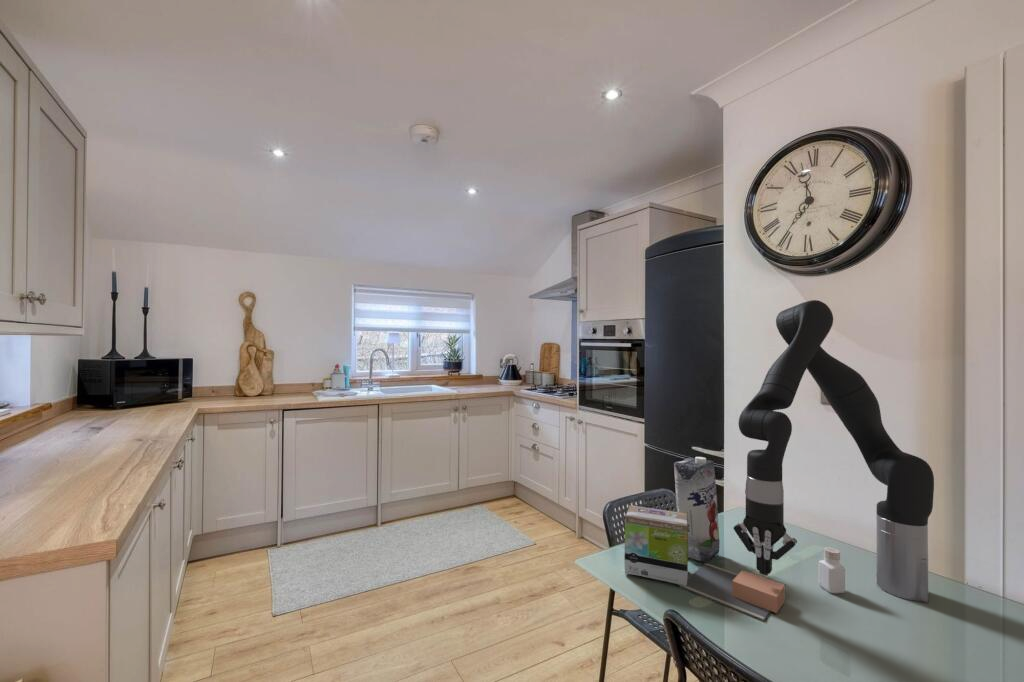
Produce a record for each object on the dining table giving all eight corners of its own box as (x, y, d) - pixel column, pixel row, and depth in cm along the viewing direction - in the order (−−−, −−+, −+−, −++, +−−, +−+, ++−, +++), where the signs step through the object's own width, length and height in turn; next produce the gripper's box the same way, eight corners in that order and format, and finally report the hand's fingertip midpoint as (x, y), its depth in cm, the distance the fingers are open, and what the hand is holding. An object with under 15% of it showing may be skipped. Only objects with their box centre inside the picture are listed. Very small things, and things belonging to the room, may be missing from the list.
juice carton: (675, 555, 119) (669, 457, 121) (692, 544, 126) (686, 452, 128) (707, 565, 113) (700, 461, 115) (723, 553, 120) (717, 455, 122)
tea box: (623, 575, 108) (623, 515, 109) (628, 558, 117) (628, 503, 118) (688, 587, 102) (687, 524, 103) (687, 569, 111) (687, 511, 112)
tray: (782, 592, 102) (782, 589, 102) (763, 621, 91) (763, 619, 91) (705, 564, 115) (705, 562, 115) (679, 587, 103) (679, 585, 103)
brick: (784, 584, 98) (741, 570, 104) (776, 597, 93) (732, 580, 99) (784, 600, 98) (741, 584, 104) (776, 613, 93) (732, 596, 99)
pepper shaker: (846, 594, 101) (846, 553, 102) (830, 594, 101) (830, 554, 101) (832, 584, 105) (832, 546, 106) (817, 585, 105) (817, 546, 105)
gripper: (802, 500, 96) (802, 578, 96) (738, 486, 105) (738, 557, 105) (794, 509, 91) (794, 591, 90) (727, 493, 100) (727, 568, 100)
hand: (764, 573), depth 98 cm, fingers closed
